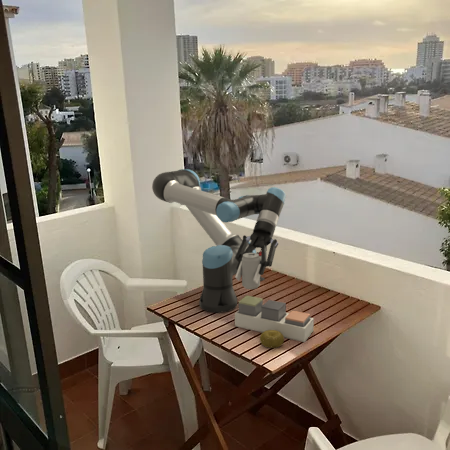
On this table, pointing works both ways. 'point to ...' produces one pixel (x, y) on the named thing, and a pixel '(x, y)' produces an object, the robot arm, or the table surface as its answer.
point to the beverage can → (250, 270)
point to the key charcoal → (273, 310)
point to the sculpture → (272, 334)
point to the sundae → (260, 263)
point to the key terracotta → (297, 318)
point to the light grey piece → (274, 326)
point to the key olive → (250, 305)
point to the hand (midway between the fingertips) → (246, 280)
